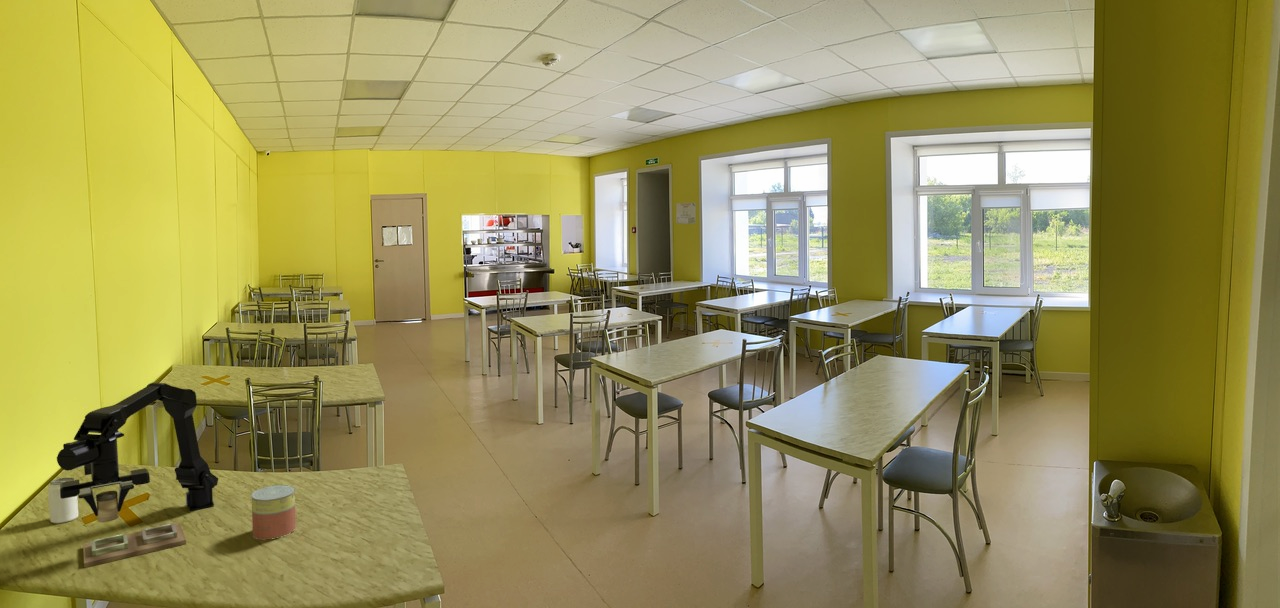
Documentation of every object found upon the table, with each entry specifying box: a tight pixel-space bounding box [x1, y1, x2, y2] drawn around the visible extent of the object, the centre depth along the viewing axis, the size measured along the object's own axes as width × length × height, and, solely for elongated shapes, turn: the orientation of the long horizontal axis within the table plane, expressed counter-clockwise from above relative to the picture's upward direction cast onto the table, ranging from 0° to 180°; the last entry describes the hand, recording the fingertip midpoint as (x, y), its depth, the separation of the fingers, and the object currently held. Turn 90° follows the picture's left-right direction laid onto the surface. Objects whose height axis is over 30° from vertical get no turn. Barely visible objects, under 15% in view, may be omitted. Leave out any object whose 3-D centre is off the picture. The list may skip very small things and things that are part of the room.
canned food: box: [250, 484, 297, 540], centre depth 196 cm, size 11×11×12 cm
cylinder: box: [95, 490, 119, 523], centre depth 181 cm, size 4×4×7 cm
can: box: [47, 477, 79, 524], centre depth 200 cm, size 6×6×12 cm
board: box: [82, 522, 187, 568], centre depth 186 cm, size 22×14×3 cm, turn 130°
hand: (107, 513), depth 181 cm, fingers closed on cylinder, 4 cm apart
